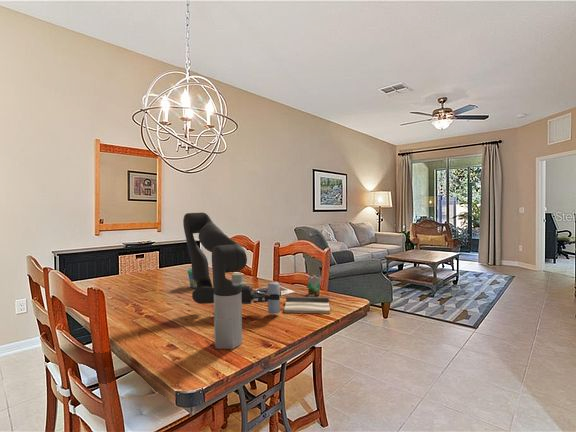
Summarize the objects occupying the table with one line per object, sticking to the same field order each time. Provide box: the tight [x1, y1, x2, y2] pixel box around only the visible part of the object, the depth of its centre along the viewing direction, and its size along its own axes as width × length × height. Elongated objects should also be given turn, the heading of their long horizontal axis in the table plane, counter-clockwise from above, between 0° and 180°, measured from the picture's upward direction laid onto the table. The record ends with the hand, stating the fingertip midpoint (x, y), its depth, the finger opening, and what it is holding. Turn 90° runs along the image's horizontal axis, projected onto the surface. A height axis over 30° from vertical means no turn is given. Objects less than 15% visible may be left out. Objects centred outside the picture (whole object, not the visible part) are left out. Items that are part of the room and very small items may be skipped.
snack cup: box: [187, 268, 197, 289], centre depth 180 cm, size 16×10×10 cm
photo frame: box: [254, 285, 296, 297], centre depth 169 cm, size 15×1×18 cm
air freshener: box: [231, 272, 248, 286], centre depth 168 cm, size 11×8×10 cm
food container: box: [307, 273, 322, 297], centre depth 161 cm, size 12×6×10 cm, turn 168°
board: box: [283, 296, 331, 314], centre depth 141 cm, size 14×20×3 cm
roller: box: [267, 281, 281, 315], centre depth 132 cm, size 5×5×12 cm
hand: (279, 295), depth 132 cm, fingers closed on roller, 5 cm apart
